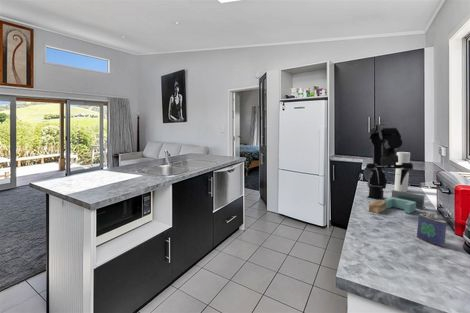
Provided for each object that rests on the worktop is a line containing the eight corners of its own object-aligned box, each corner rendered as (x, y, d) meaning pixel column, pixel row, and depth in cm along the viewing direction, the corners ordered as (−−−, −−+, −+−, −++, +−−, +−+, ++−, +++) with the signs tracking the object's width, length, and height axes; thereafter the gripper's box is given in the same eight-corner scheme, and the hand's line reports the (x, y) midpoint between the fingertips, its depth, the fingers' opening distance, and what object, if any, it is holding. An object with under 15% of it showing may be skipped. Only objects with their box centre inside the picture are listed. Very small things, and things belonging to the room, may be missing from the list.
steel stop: (391, 203, 132) (391, 190, 131) (394, 201, 134) (395, 189, 133) (422, 209, 120) (423, 196, 120) (424, 208, 123) (426, 194, 122)
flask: (446, 246, 83) (449, 216, 82) (440, 248, 82) (442, 217, 81) (419, 235, 92) (422, 208, 91) (413, 236, 91) (415, 209, 90)
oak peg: (368, 211, 119) (369, 204, 119) (377, 207, 125) (377, 200, 125) (377, 214, 116) (378, 205, 116) (385, 209, 122) (386, 201, 122)
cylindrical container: (409, 192, 154) (412, 153, 151) (397, 191, 155) (399, 153, 152) (404, 189, 161) (407, 152, 158) (392, 189, 162) (394, 151, 159)
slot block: (383, 207, 124) (384, 199, 123) (390, 204, 128) (391, 196, 128) (409, 213, 115) (409, 205, 114) (415, 210, 119) (416, 201, 119)
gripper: (363, 150, 118) (363, 182, 115) (411, 148, 106) (412, 183, 103) (368, 154, 126) (368, 184, 124) (413, 152, 114) (414, 185, 112)
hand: (389, 184), depth 116 cm, fingers open, 9 cm apart
